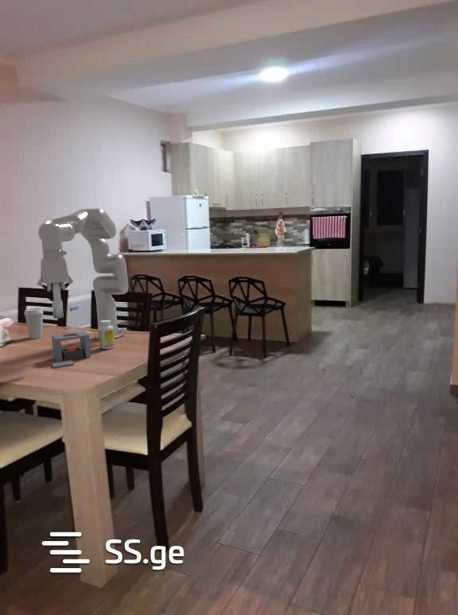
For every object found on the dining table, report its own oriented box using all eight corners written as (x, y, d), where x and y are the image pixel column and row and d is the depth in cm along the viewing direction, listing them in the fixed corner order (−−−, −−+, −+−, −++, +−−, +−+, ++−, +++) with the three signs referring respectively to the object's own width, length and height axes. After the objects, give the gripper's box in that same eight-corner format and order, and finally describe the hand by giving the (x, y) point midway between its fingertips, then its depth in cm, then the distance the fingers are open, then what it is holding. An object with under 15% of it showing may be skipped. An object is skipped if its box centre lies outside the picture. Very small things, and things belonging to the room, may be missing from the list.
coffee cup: (49, 336, 265) (47, 308, 262) (34, 340, 257) (31, 311, 254) (38, 334, 270) (35, 307, 267) (22, 338, 262) (19, 310, 259)
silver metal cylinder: (62, 316, 207) (59, 282, 205) (64, 317, 204) (61, 283, 202) (52, 317, 206) (49, 283, 203) (54, 318, 202) (51, 284, 200)
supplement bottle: (117, 346, 237) (115, 319, 235) (109, 349, 231) (107, 322, 229) (105, 345, 240) (103, 319, 238) (97, 349, 233) (95, 322, 231)
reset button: (76, 352, 223) (75, 346, 222) (78, 355, 218) (78, 348, 218) (65, 354, 220) (64, 347, 220) (67, 356, 216) (66, 349, 216)
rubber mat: (70, 361, 213) (70, 359, 212) (74, 365, 207) (73, 363, 207) (51, 364, 209) (51, 363, 209) (54, 368, 204) (53, 366, 203)
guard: (85, 353, 227) (84, 331, 225) (90, 357, 219) (89, 334, 217) (53, 357, 220) (51, 335, 218) (57, 362, 212) (55, 339, 211)
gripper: (72, 253, 208) (75, 297, 211) (29, 255, 200) (33, 301, 203) (76, 254, 202) (79, 299, 204) (32, 256, 194) (36, 303, 197)
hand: (56, 299), depth 204 cm, fingers closed on silver metal cylinder, 4 cm apart
